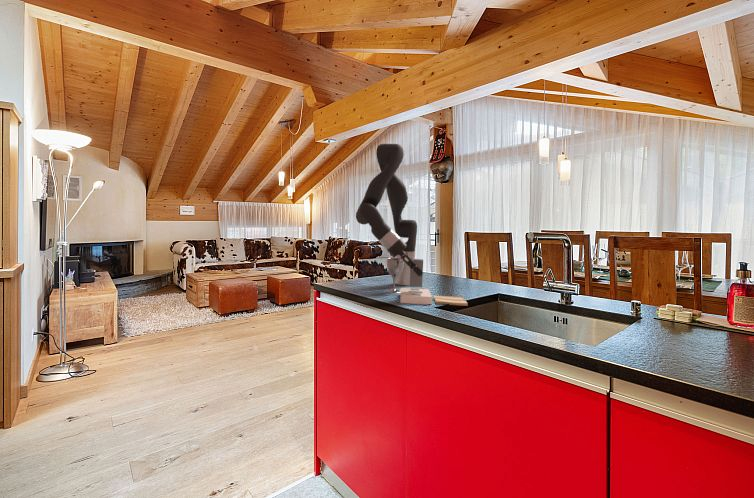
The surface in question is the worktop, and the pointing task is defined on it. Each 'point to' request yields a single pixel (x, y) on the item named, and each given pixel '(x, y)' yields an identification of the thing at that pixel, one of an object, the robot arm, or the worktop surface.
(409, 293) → the pinkish tan rectangular slab
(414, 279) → the grey rectangular block
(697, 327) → the worktop surface
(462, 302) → the rest pad
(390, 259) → the wine glass
